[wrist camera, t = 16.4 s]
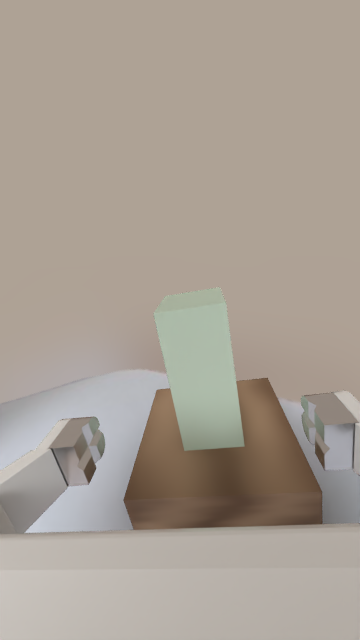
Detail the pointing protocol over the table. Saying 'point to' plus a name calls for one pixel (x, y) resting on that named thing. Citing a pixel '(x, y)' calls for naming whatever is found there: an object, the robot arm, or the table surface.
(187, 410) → the sage block
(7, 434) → the table surface
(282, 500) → the walnut block
